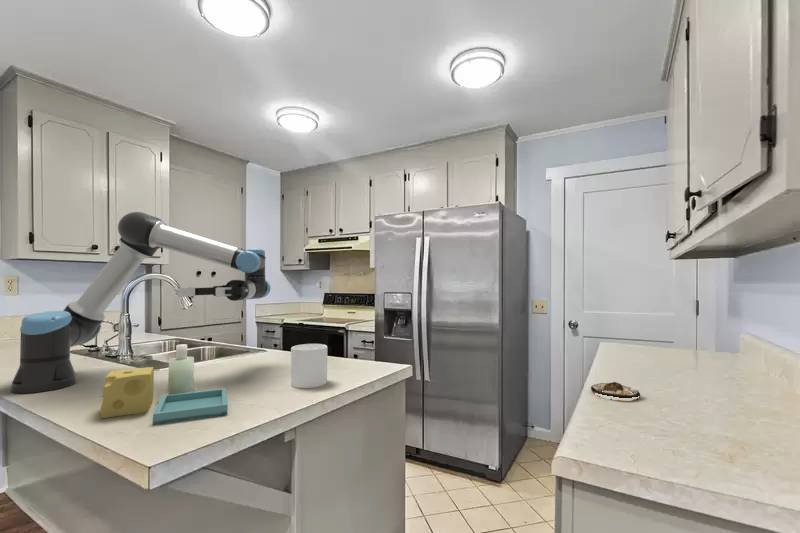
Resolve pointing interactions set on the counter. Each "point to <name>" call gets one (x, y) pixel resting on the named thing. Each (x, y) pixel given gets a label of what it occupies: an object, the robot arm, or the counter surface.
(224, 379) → the counter surface
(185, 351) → the bottle
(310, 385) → the cup
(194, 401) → the teal rectangular tray
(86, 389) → the counter surface
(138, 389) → the cheese
